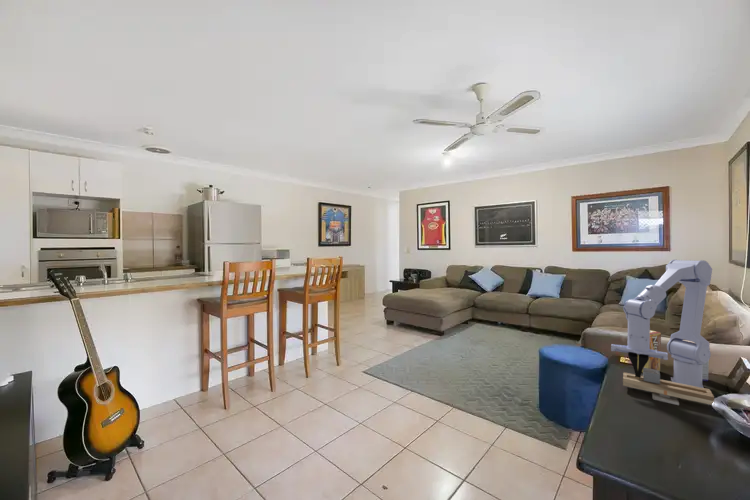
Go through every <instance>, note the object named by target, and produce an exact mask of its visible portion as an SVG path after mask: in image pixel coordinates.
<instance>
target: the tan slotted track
mask: <svg viewBox="0 0 750 500" xmlns="http://www.w3.org/2000/svg"><path fill="white" fill-rule="evenodd" d="M622 374H623V377H622V386H624V387H628V388H632V389H633V388H634V389H637V390H642V391H647V392H651V395H652V397H651V398H652V399H653V400H655V401H658V402H662V403H668V404H672V405H677V406H680V402H679V398H680V399H682V400H683V399H684V400H688V401H693V402H698V403H702V404H707V405H711V406H713V405H712V403H713V402H714V403H715V396H714V394H713V393H712V391H711V389H710V388H706V387H705V388H701V387H696V386H691V385H686V384H681V383H676V382H672V381H671V380H665V379H661V378H660V384H656V383H651V382H647V381H644V380H643V375H641V378H640V377H635V373H630V372H625V371H623V373H622Z"/></svg>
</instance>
